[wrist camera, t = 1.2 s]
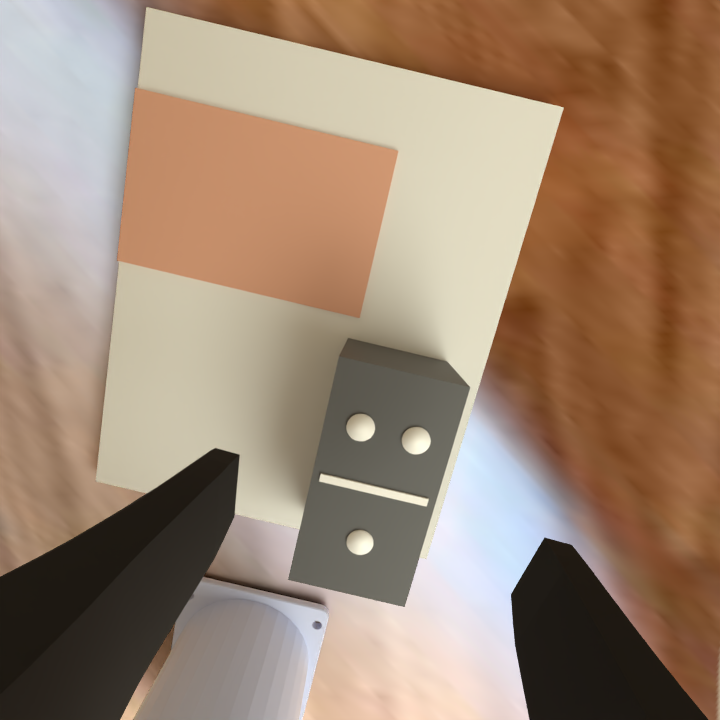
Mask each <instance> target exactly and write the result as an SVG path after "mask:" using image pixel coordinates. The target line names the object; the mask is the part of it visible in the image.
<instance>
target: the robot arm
mask: <svg viewBox="0 0 720 720" xmlns="http://www.w3.org/2000/svg"><path fill="white" fill-rule="evenodd" d="M239 458H240V454H236V453H232V452H229V451H225V450H221V449H218V448H214V449H212V450H210V451H209V452H207V453H206V454H205V455H203V456H202V457H200V458H199V459H197V460H196V461H194V462H193V463H192V464H190V465H189V466H187V467H186V468H184V469H183V470H181V471H180V472H178V473H177V474H175V475H174V476H173V477H171V478H170V479H168V480H167V481H165V482H164V483H162V484H161V485H159V486H158V487H156V488H154V489H153V490H151V491H150V492H148V493H147V494H145V495H144V496H142V497H141V498H139V499H137V500H136V501H134V502H133V503H131V504H130V505H128V506H127V507H125V508H123V509H122V510H120V511H118V512H117V513H115V514H113V515H112V516H110V517H108V518H107V519H105V520H103V521H102V522H100V523H98V524H97V525H95V526H93V527H92V528H90V529H88V530H86V531H85V532H83V533H81V534H80V535H78V536H76V537H74V538H73V539H71V540H69V541H67V542H66V543H64V544H62V545H60V546H58V547H56V548H55V549H53V550H51V551H49V552H47V553H45V554H43V555H42V556H40V557H38V558H36V559H34V560H32V561H30V562H28V563H26V564H24V565H22V566H20V567H18V568H16V569H15V570H13V571H11V572H9V573H7V574H5V575H3V576H1V577H0V720H120V719H121V717H122V715H123V713H124V711H125V709H126V707H127V705H128V703H129V701H130V699H131V697H132V695H133V693H134V691H135V689H136V688H137V686H138V684H139V682H140V680H141V679H142V677H143V675H144V673H145V672H146V670H147V668H148V666H149V665H150V663H151V661H152V659H153V658H154V656H155V654H156V653H157V651H158V650H159V648H160V646H161V645H162V643H163V641H164V640H165V638H166V637H167V635H168V633H169V632H170V630H171V629H172V627H173V625H174V624H175V629H174V635H173V641H172V647H171V652H170V654H169V656H168V658H167V659H166V661H165V663H164V665H163V666H162V668H161V670H160V672H159V674H158V675H157V677H156V679H155V681H154V683H153V684H152V686H151V688H150V690H149V692H148V693H147V695H146V697H145V699H144V701H143V702H142V704H141V706H140V708H139V710H138V711H137V713H136V715H135V717H134V719H133V720H302V719H303V715H304V712H305V708H306V704H307V700H308V696H309V692H310V688H311V684H312V680H313V676H314V673H315V669H316V665H317V661H318V657H319V653H320V649H321V645H322V641H323V637H324V634H325V630H326V626H327V622H328V617H329V610H328V608H327V607H326V606H324V605H322V604H317V603H313V602H309V601H305V600H300V599H296V598H292V597H287V596H283V595H279V594H275V593H270V592H266V591H262V590H258V589H253V588H249V587H245V586H240V585H236V584H232V583H228V582H223V581H219V580H215V579H211V578H206V577H203V576H204V575H205V573H206V571H207V570H208V568H209V567H210V565H211V563H212V562H213V560H214V558H215V556H216V554H217V552H218V550H219V548H220V546H221V544H222V542H223V540H224V538H225V536H226V533H227V531H228V529H229V527H230V525H231V523H232V520H233V518H234V515H235V504H236V492H237V481H238V469H239ZM511 600H512V615H513V627H514V638H515V647H516V652H517V658H518V663H519V668H520V673H521V679H522V684H523V689H524V694H525V699H526V704H527V709H528V714H529V719H530V720H708V719H707V717H706V716H705V715H704V714H703V713H702V711H701V710H700V709H699V708H698V707H697V705H696V704H695V703H694V702H693V701H692V699H691V698H690V697H689V696H688V695H687V693H686V692H685V691H684V690H683V688H682V687H681V686H680V685H679V684H678V682H677V681H676V680H675V678H674V677H673V676H672V675H671V673H670V672H669V671H668V670H667V668H666V667H665V666H664V665H663V663H662V662H661V661H660V660H659V658H658V657H657V656H656V655H655V653H654V652H653V651H652V649H651V648H650V647H649V646H648V644H647V643H646V642H645V640H644V639H643V638H642V636H641V635H640V634H639V633H638V631H637V630H636V629H635V627H634V626H633V625H632V623H631V622H630V621H629V619H628V618H627V617H626V616H625V614H624V613H623V612H622V610H621V609H620V608H619V606H618V605H617V604H616V602H615V601H614V600H613V598H612V597H611V596H610V594H609V593H608V592H607V590H606V589H605V588H604V586H603V585H602V584H601V582H600V581H599V580H598V578H597V577H596V576H595V574H594V573H593V572H592V570H591V569H590V568H589V566H588V565H587V564H586V562H585V561H584V560H583V559H582V557H581V556H580V555H579V553H578V552H577V551H576V550H575V548H574V547H573V546H572V545H570V544H566V543H562V542H559V541H555V540H551V539H548V538H544V540H543V541H542V543H541V545H540V546H539V548H538V550H537V551H536V553H535V555H534V556H533V558H532V560H531V562H530V563H529V565H528V567H527V568H526V570H525V572H524V573H523V575H522V577H521V578H520V580H519V582H518V584H517V585H516V587H515V589H514V590H513V592H512V594H511ZM315 621H319V622H321V623H316V622H315ZM175 622H176V623H175Z"/></svg>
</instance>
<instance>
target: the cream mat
mask: <svg viewBox="0 0 720 720" xmlns="http://www.w3.org/2000/svg"><path fill="white" fill-rule="evenodd" d="M563 108H564V107H559V106H555V105H551V104H547V103H543V102H539V101H535V100H530V99H526V98H522V97H518V96H514V95H510V94H505V93H501V92H497V91H493V90H489V89H485V88H481V87H476V86H472V85H468V84H464V83H460V82H456V81H451V80H447V79H443V78H439V77H435V76H431V75H427V74H422V73H418V72H414V71H410V70H406V69H402V68H398V67H393V66H389V65H385V64H381V63H377V62H373V61H368V60H364V59H360V58H356V57H352V56H348V55H344V54H339V53H335V52H331V51H327V50H323V49H319V48H315V47H310V46H306V45H302V44H298V43H294V42H290V41H285V40H281V39H277V38H273V37H269V36H265V35H261V34H256V33H252V32H248V31H244V30H240V29H236V28H232V27H227V26H223V25H219V24H215V23H211V22H207V21H202V20H198V19H194V18H190V17H186V16H182V15H178V14H173V13H169V12H165V11H161V10H157V9H153V8H148V7H146V15H145V25H144V34H143V43H142V53H141V62H140V72H139V81H138V88H135V95H134V104H133V114H132V123H131V132H130V142H129V151H128V161H127V170H126V180H125V189H124V199H123V208H122V217H121V227H120V236H119V246H118V255H117V261H119V268H118V277H117V286H116V296H115V305H114V314H113V324H112V333H111V342H110V352H109V361H108V370H107V380H106V389H105V398H104V408H103V417H102V426H101V436H100V445H99V455H98V464H97V473H96V482H100V483H104V484H109V485H113V486H117V487H121V488H126V489H130V490H134V491H138V492H143V493H148V492H150V491H151V490H153V489H154V488H156V487H158V486H159V485H161V484H162V483H164V482H165V481H167V480H168V479H170V478H171V477H173V476H174V475H175V474H177V473H178V472H180V471H181V470H183V469H184V468H186V467H187V466H189V465H190V464H192V463H193V462H194V461H196V460H197V459H199V458H200V457H202V456H203V455H205V454H206V453H207V452H209V451H210V450H212V449H214V448H218V449H221V450H225V451H229V452H232V453H236V454H240V458H239V469H238V481H237V492H236V504H235V514H236V515H241V516H245V517H249V518H253V519H258V520H262V521H266V522H270V523H275V524H279V525H283V526H287V527H292V528H296V529H300V526H301V521H302V517H303V512H304V508H305V504H306V499H307V495H308V490H309V486H310V481H311V477H312V473H313V468H314V464H315V459H316V455H317V451H318V446H319V442H320V437H321V433H322V429H323V424H324V420H325V415H326V411H327V406H328V402H329V398H330V393H331V389H332V384H333V380H334V376H335V371H336V367H337V362H338V358H339V355H340V353H341V351H342V349H343V347H344V345H345V343H346V341H347V339H348V338H351V339H355V340H359V341H363V342H368V343H372V344H376V345H380V346H384V347H389V348H393V349H397V350H401V351H406V352H410V353H414V354H418V355H422V356H427V357H431V358H435V359H439V360H443V361H447V362H448V363H449V364H450V365H451V366H452V367H453V368H454V370H455V371H456V372H457V373H458V374H459V375H460V376H461V377H462V378H463V380H464V381H465V382H466V383H467V384H468V385H469V386H470V390H469V394H468V397H467V400H466V404H465V407H464V410H463V414H462V417H461V420H460V424H459V427H458V430H457V434H456V437H455V440H454V444H453V447H452V450H451V454H450V457H449V460H448V464H447V467H446V470H445V474H444V477H443V480H442V484H441V487H440V490H439V494H438V497H437V500H436V504H435V507H434V510H433V514H432V517H431V520H430V524H429V527H428V530H427V534H426V537H425V540H424V544H423V547H422V550H421V554H420V557H419V558H424V559H426V558H427V555H428V552H429V548H430V545H431V542H432V539H433V535H434V532H435V529H436V525H437V522H438V519H439V516H440V512H441V509H442V506H443V502H444V499H445V496H446V493H447V489H448V486H449V483H450V479H451V476H452V473H453V470H454V466H455V463H456V460H457V456H458V453H459V450H460V447H461V443H462V440H463V437H464V433H465V430H466V427H467V424H468V420H469V417H470V414H471V410H472V407H473V404H474V401H475V397H476V394H477V391H478V387H479V384H480V381H481V378H482V374H483V371H484V368H485V364H486V361H487V358H488V355H489V351H490V348H491V345H492V341H493V338H494V335H495V332H496V328H497V325H498V322H499V318H500V315H501V312H502V309H503V305H504V302H505V299H506V295H507V292H508V289H509V286H510V282H511V279H512V276H513V272H514V269H515V266H516V263H517V259H518V256H519V253H520V249H521V246H522V243H523V239H524V236H525V233H526V230H527V226H528V223H529V220H530V216H531V213H532V210H533V207H534V203H535V200H536V197H537V193H538V190H539V187H540V184H541V180H542V177H543V174H544V170H545V167H546V164H547V161H548V157H549V154H550V151H551V147H552V144H553V141H554V138H555V134H556V131H557V128H558V124H559V121H560V118H561V115H562V111H563Z"/></svg>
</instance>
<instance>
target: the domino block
mask: <svg viewBox="0 0 720 720" xmlns="http://www.w3.org/2000/svg"><path fill="white" fill-rule="evenodd" d="M469 390H470V386H469V385H468V384H467V383H466V382H465V381H464V380H463V378H462V377H461V376H460V375H459V374H458V373H457V372H456V371H455V370H454V368H453V367H452V366H451V365H450V364H449V363H448V362H447V361H443V360H439V359H435V358H431V357H427V356H422V355H418V354H414V353H410V352H406V351H401V350H397V349H393V348H389V347H384V346H380V345H376V344H372V343H368V342H363V341H359V340H355V339H351V338H348V339H347V341H346V343H345V345H344V347H343V349H342V351H341V353H340V355H339V358H338V362H337V367H336V371H335V376H334V380H333V384H332V389H331V393H330V398H329V402H328V406H327V411H326V415H325V420H324V424H323V429H322V433H321V437H320V442H319V446H318V451H317V455H316V459H315V464H314V468H313V473H312V477H311V481H310V486H309V490H308V495H307V499H306V504H305V508H304V512H303V517H302V521H301V526H300V530H299V534H298V539H297V543H296V548H295V552H294V556H293V561H292V565H291V570H290V574H289V579H288V580H292V581H296V582H300V583H304V584H309V585H313V586H317V587H321V588H326V589H330V590H334V591H339V592H343V593H347V594H351V595H356V596H360V597H364V598H368V599H373V600H377V601H381V602H386V603H390V604H394V605H398V606H403V607H405V604H406V600H407V597H408V594H409V590H410V587H411V584H412V580H413V577H414V574H415V570H416V567H417V564H418V560H419V557H420V554H421V550H422V547H423V544H424V540H425V537H426V534H427V530H428V527H429V524H430V520H431V517H432V514H433V510H434V507H435V504H436V500H437V497H438V494H439V490H440V487H441V484H442V480H443V477H444V474H445V470H446V467H447V464H448V460H449V457H450V454H451V450H452V447H453V444H454V440H455V437H456V434H457V430H458V427H459V424H460V420H461V417H462V414H463V410H464V407H465V404H466V400H467V397H468V394H469Z"/></svg>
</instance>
